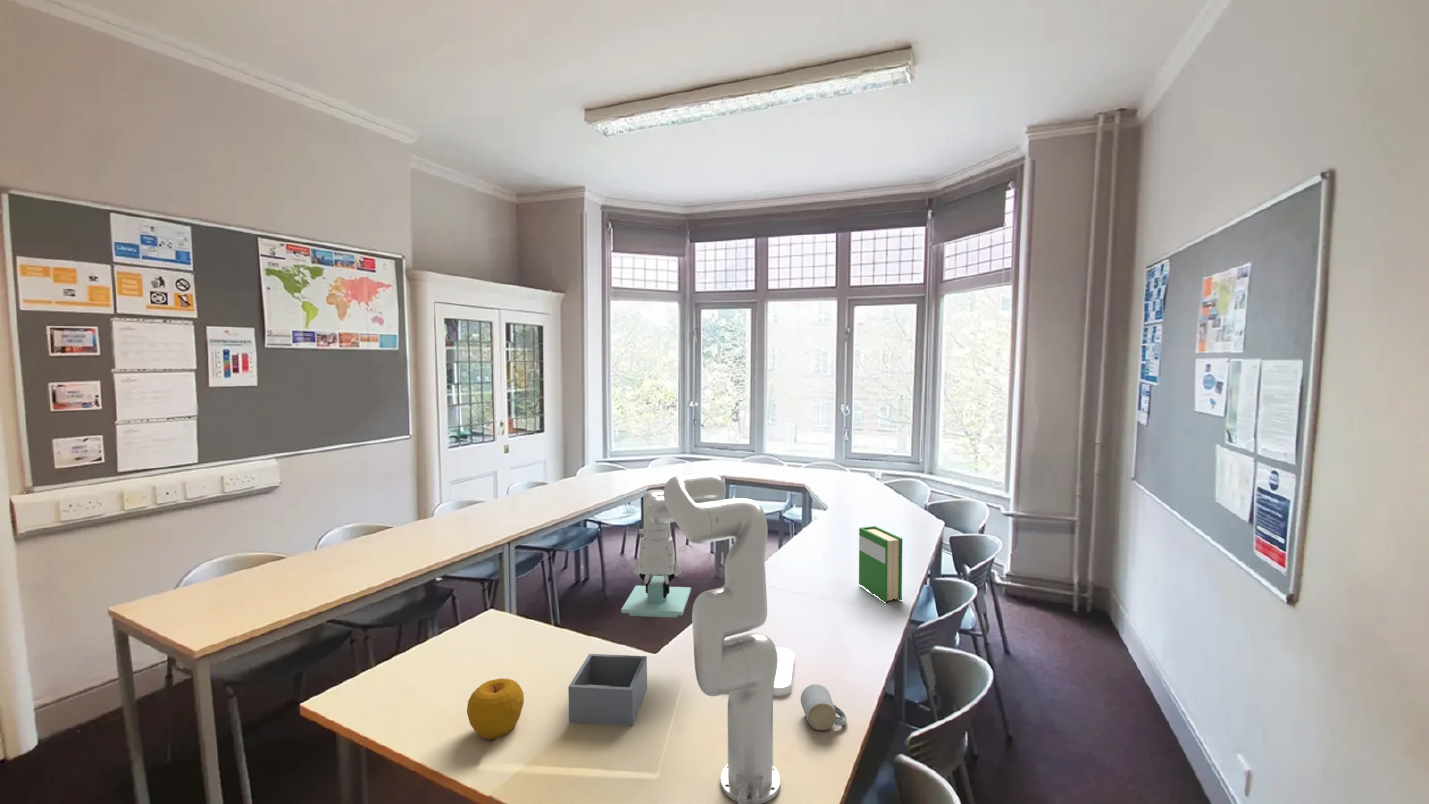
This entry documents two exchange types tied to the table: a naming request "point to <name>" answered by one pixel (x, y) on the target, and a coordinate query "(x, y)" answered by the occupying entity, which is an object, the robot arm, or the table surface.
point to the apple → (495, 707)
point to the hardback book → (880, 563)
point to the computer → (784, 672)
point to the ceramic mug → (820, 708)
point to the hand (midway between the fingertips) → (657, 595)
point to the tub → (608, 690)
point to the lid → (656, 600)
